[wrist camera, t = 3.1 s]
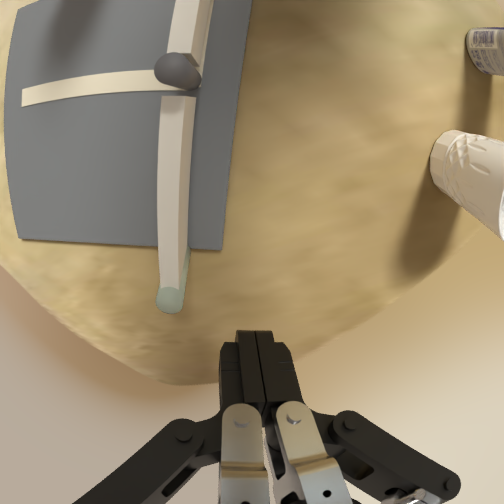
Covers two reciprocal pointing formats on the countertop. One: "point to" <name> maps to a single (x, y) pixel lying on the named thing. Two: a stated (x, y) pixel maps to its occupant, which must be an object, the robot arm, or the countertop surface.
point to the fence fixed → (184, 45)
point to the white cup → (472, 175)
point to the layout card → (114, 119)
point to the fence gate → (174, 199)
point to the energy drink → (487, 49)
